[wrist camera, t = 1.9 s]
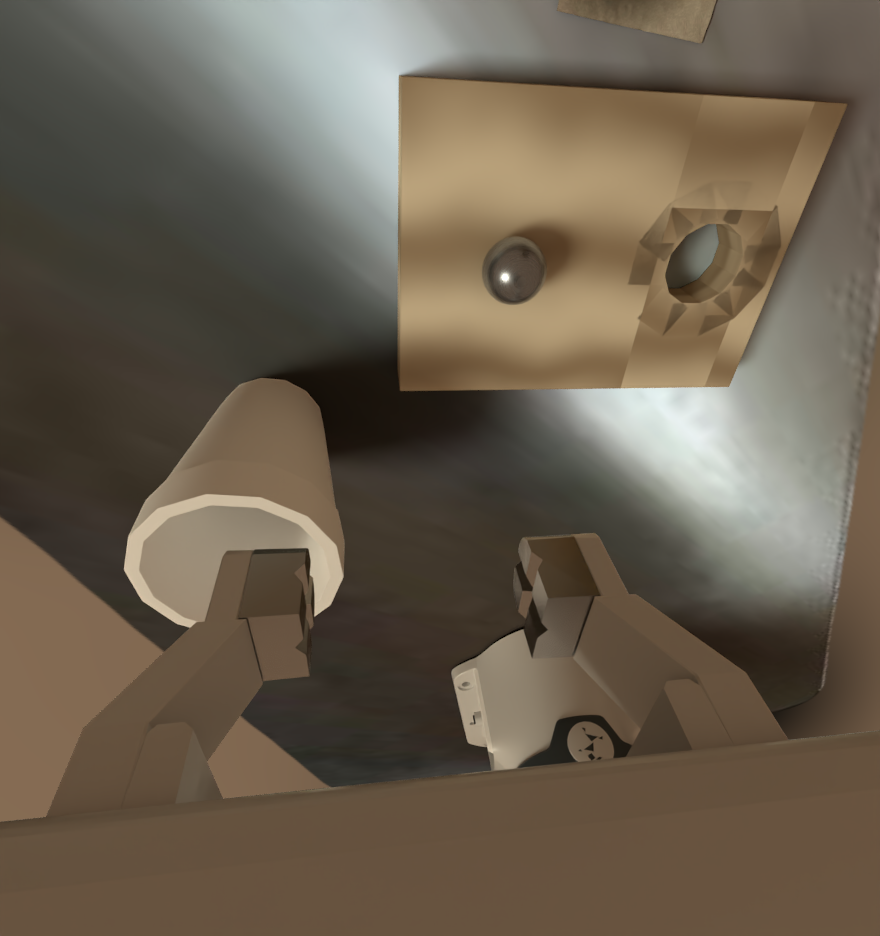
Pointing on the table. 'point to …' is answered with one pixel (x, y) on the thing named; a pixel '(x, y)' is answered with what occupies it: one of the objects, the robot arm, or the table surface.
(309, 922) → the robot arm
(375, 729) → the table surface
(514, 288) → the ball
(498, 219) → the wooden board
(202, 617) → the foam cup
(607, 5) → the condiment
